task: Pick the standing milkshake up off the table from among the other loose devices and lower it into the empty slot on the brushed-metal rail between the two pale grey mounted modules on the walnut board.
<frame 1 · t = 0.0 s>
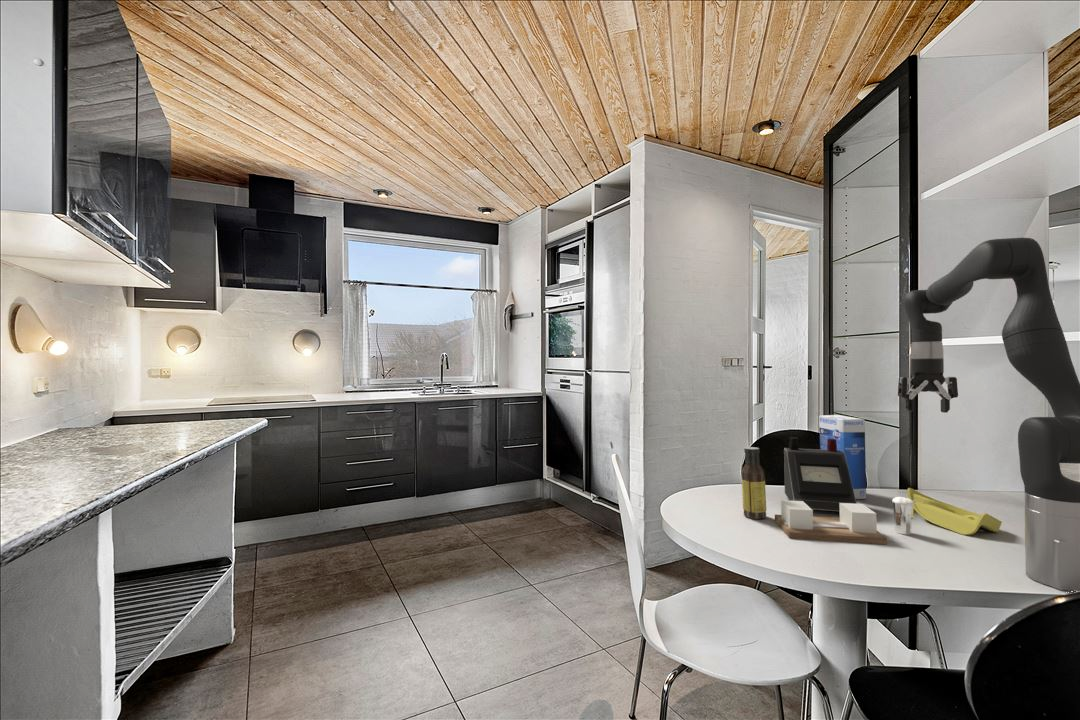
hand: (927, 412, 140), 29 cm above the table, fingers open, 8 cm apart
mounted modules: (826, 515, 125), point 4 cm above the table
milkshake: (905, 534, 123), on the table
plastic component: (950, 524, 130), on the table
sauce bottle: (754, 517, 138), on the table
rail board: (826, 531, 125), on the table
voltmeter: (818, 507, 146), on the table
string lights box: (842, 494, 159), on the table
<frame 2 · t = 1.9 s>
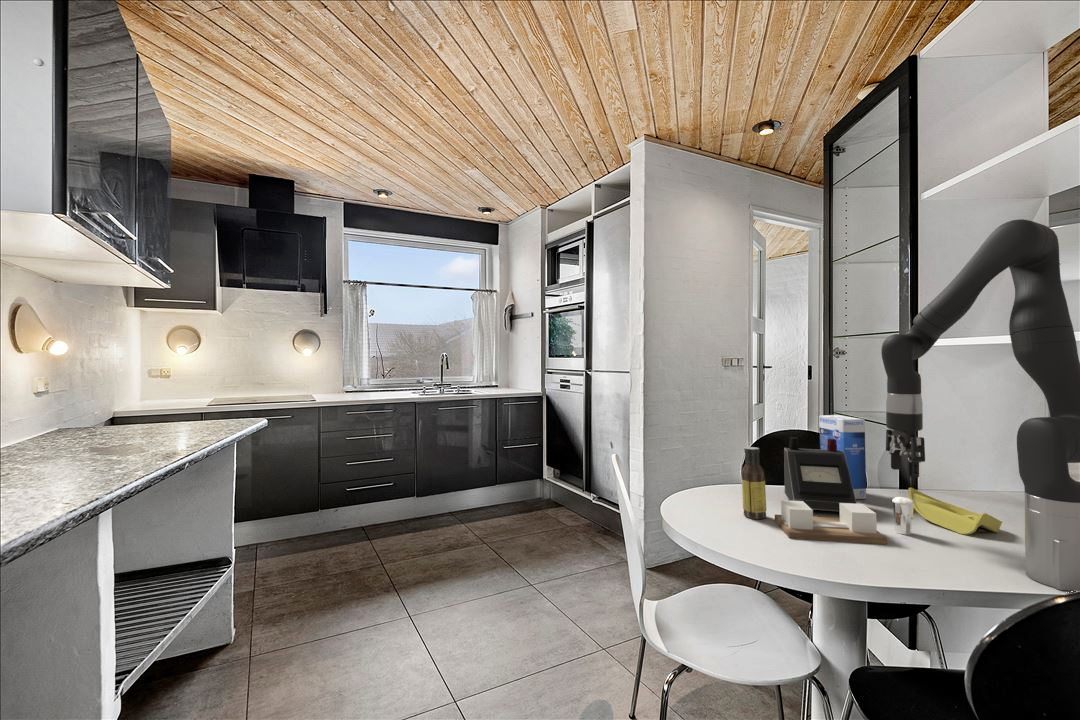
hand: (904, 473, 123), 16 cm above the table, fingers open, 8 cm apart
nothing on the table moved.
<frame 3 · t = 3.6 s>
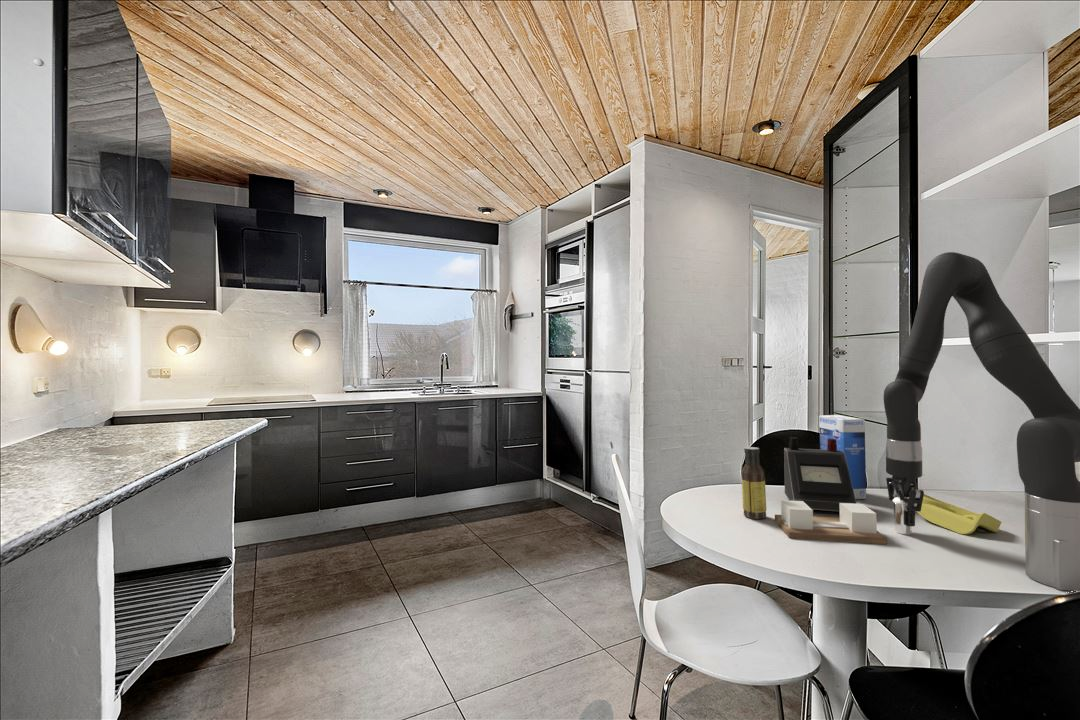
hand: (904, 522, 123), 3 cm above the table, fingers closed on milkshake, 4 cm apart
milkshake: (905, 533, 123), on the table, touching gripper
everything else where it was.
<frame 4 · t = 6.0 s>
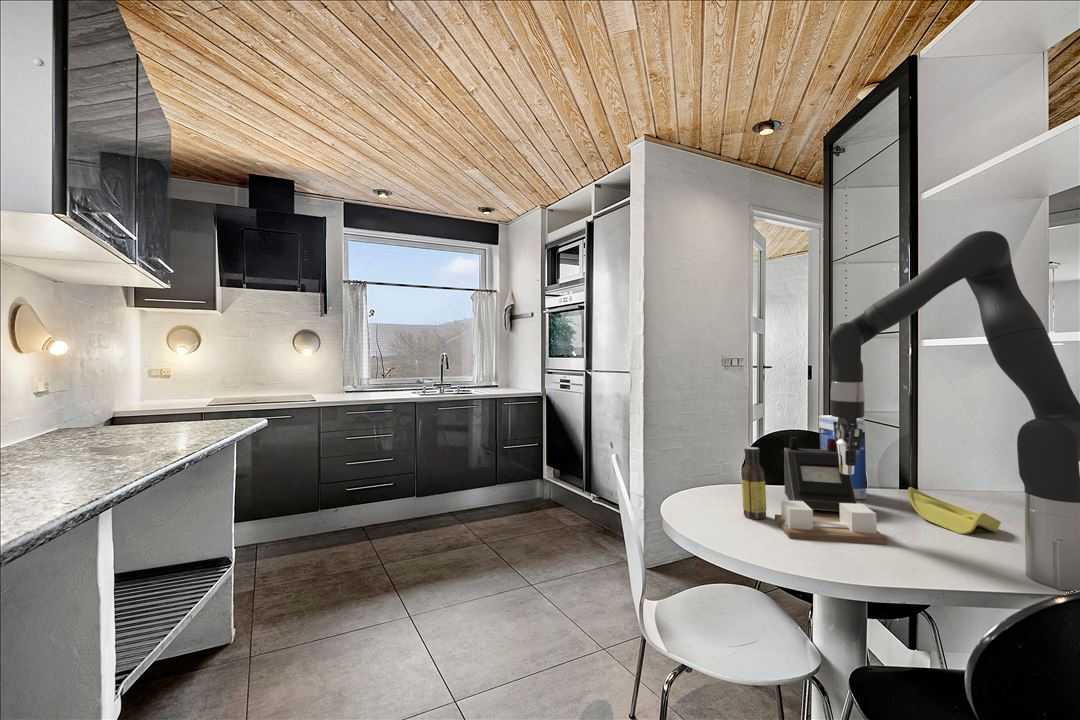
hand: (846, 463, 126), 18 cm above the table, fingers closed on milkshake, 4 cm apart
milkshake: (847, 474, 126), point 15 cm above the table, touching gripper
everything else where it was.
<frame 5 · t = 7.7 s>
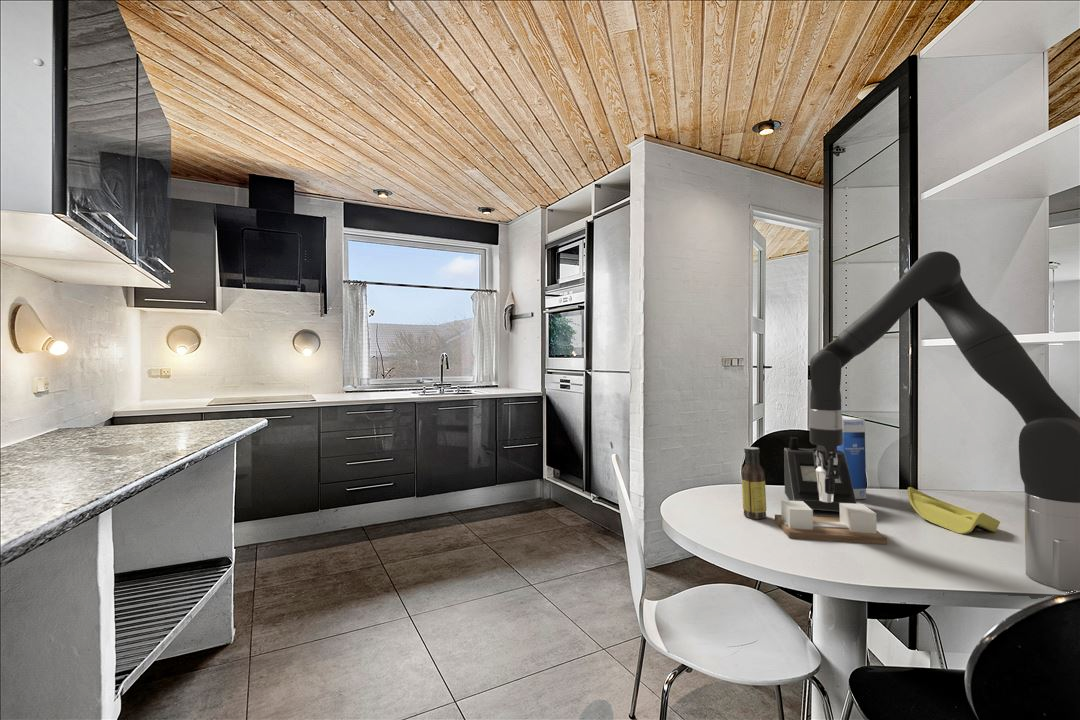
hand: (826, 490, 125), 11 cm above the table, fingers closed on milkshake, 4 cm apart
milkshake: (827, 501, 125), point 8 cm above the table, touching gripper
everything else where it was.
when the fingers open (6 cm above the table, at t = 9.3 s): milkshake drops 1 cm, resting on rail board.
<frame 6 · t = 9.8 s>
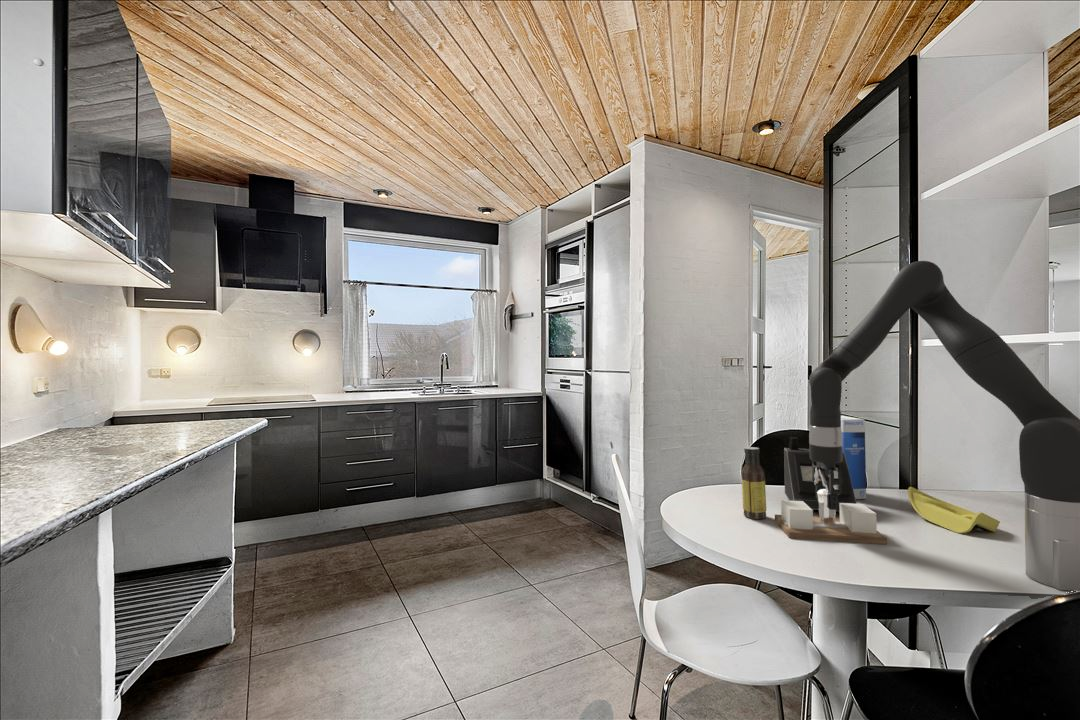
hand: (826, 504, 125), 7 cm above the table, fingers open, 8 cm apart
milkshake: (828, 525, 125), point 2 cm above the table, touching rail board
everything else where it was.
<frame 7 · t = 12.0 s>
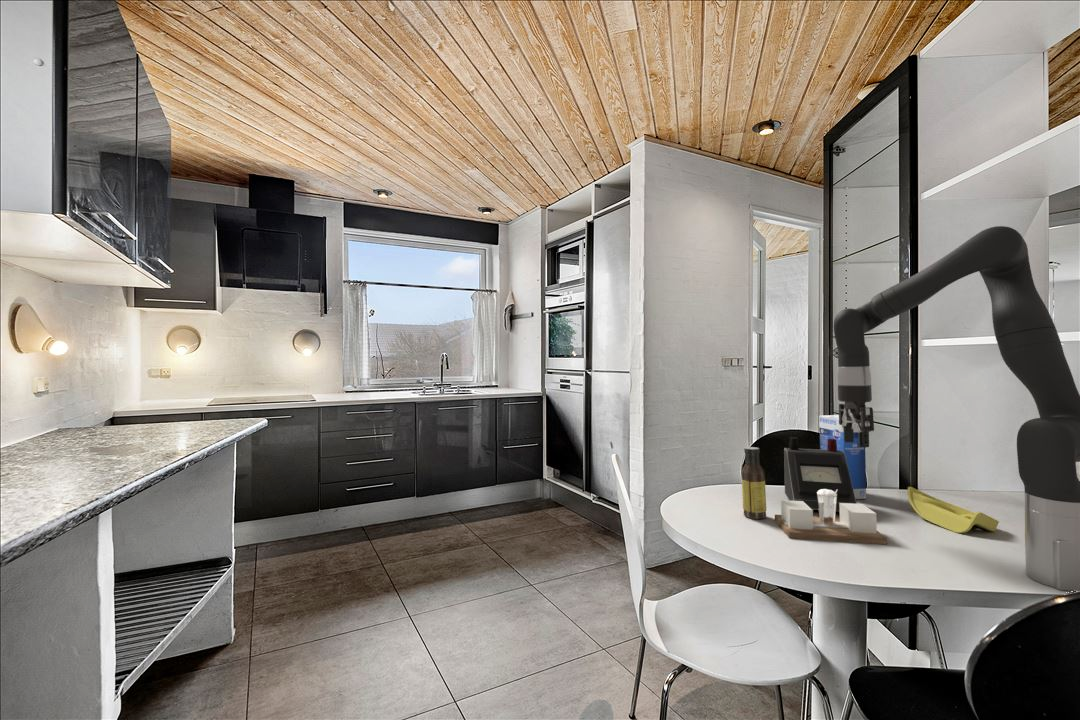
hand: (856, 444, 126), 23 cm above the table, fingers open, 8 cm apart
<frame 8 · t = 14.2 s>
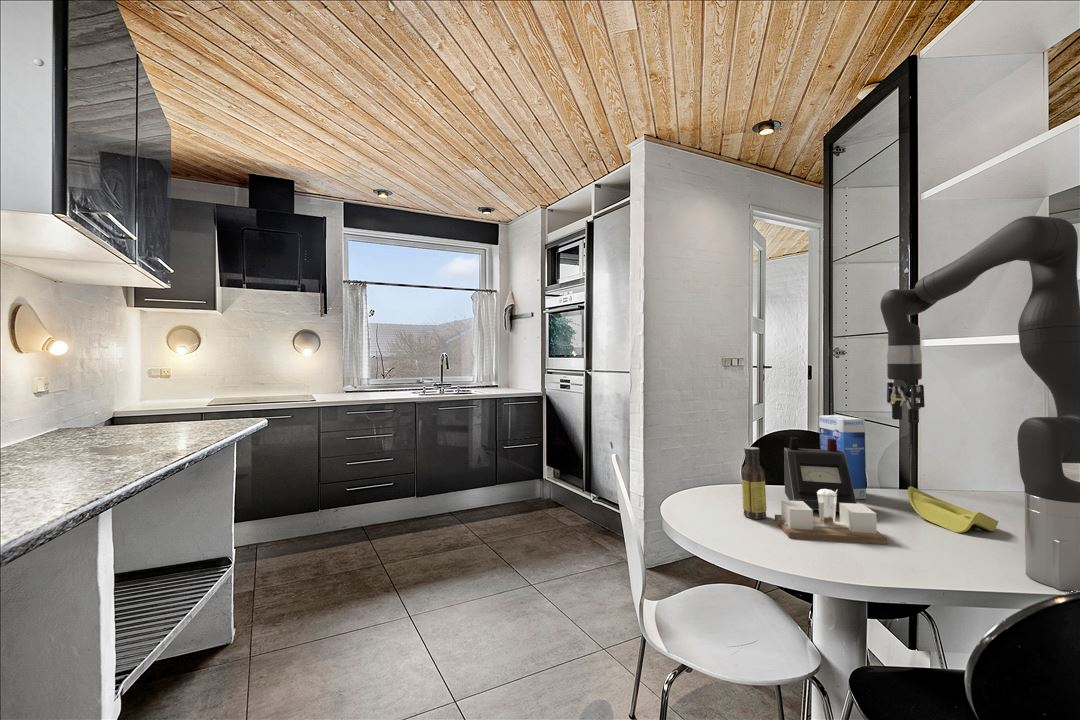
hand: (904, 421, 130), 28 cm above the table, fingers open, 8 cm apart
at the end: milkshake 0.7 cm off-centre on the rail board, point 1.7 cm above the rail board's base; milkshake tilted 0°; the gripper is holding nothing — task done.
